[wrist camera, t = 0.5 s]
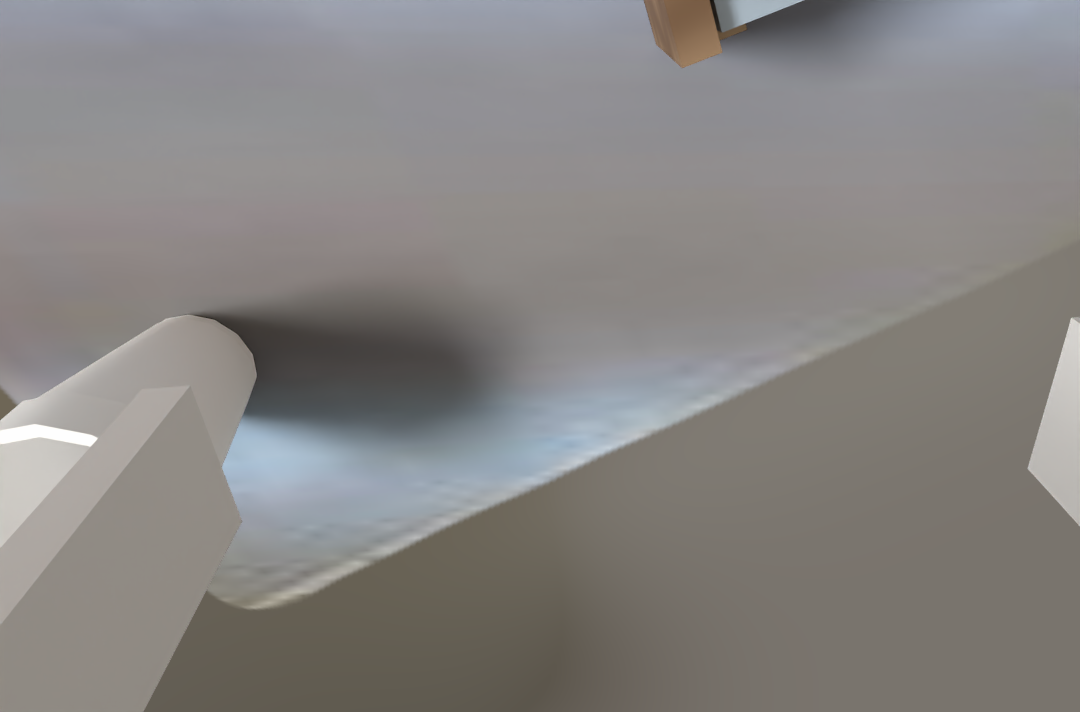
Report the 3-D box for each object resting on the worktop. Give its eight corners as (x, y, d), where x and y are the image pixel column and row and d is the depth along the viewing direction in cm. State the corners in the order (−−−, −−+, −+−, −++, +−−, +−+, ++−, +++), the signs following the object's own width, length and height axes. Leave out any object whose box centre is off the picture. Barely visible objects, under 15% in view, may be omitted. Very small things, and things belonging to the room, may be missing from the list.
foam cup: (246, 274, 39) (122, 407, 28) (308, 416, 44) (223, 581, 32) (83, 308, 40) (-99, 449, 29) (161, 444, 45) (28, 613, 33)
